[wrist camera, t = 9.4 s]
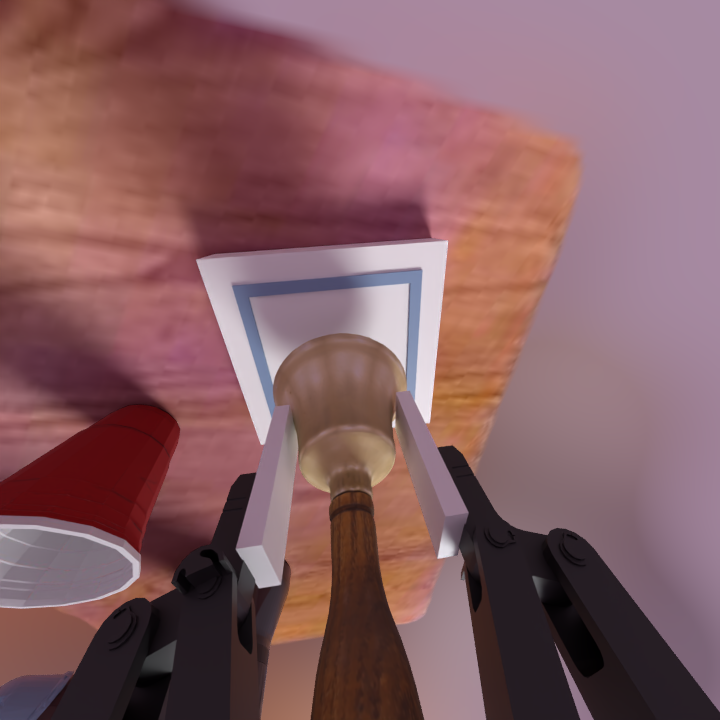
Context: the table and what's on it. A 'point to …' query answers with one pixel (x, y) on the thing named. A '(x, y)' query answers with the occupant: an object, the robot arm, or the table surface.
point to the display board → (327, 308)
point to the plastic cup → (84, 511)
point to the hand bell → (351, 517)
